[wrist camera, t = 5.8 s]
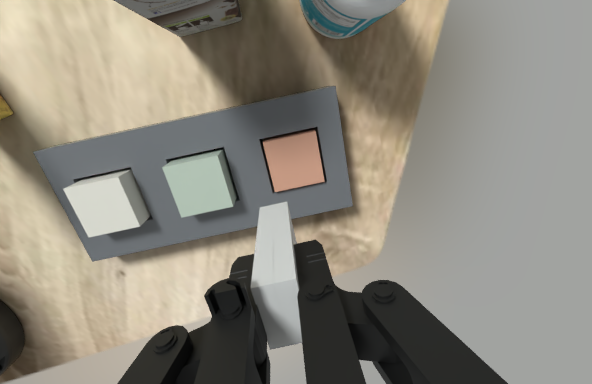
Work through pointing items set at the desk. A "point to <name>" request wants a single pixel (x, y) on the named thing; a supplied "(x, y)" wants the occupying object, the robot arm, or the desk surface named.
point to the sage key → (201, 182)
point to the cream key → (108, 202)
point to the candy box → (4, 109)
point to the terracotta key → (294, 159)
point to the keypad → (197, 138)
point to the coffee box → (187, 13)
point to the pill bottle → (345, 15)
